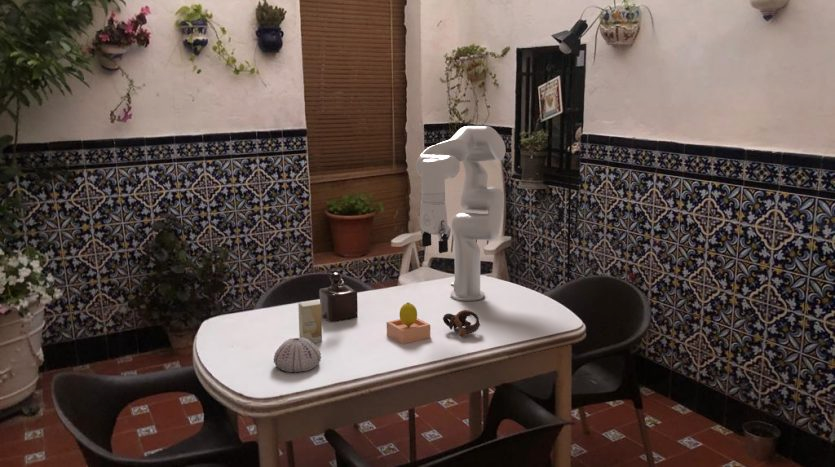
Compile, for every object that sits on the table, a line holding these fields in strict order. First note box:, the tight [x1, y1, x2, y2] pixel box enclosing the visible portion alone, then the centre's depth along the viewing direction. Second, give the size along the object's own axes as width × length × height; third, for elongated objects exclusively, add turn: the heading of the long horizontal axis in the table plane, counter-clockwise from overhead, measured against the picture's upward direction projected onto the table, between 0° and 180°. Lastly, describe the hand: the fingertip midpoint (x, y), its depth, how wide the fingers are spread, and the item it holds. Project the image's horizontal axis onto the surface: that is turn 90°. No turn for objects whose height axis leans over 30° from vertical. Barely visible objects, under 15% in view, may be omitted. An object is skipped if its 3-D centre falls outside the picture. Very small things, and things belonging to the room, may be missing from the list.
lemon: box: [399, 302, 418, 327], centre depth 213 cm, size 6×6×8 cm
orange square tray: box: [386, 317, 431, 345], centre depth 214 cm, size 10×10×4 cm
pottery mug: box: [442, 309, 481, 338], centre depth 216 cm, size 12×10×8 cm
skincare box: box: [297, 300, 323, 343], centre depth 211 cm, size 6×4×12 cm
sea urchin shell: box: [273, 337, 322, 373], centre depth 193 cm, size 13×14×8 cm
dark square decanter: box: [318, 269, 359, 323], centre depth 231 cm, size 16×11×18 cm
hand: (435, 249), depth 222 cm, fingers open, 9 cm apart
